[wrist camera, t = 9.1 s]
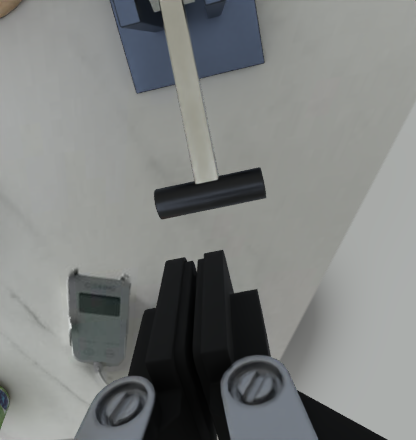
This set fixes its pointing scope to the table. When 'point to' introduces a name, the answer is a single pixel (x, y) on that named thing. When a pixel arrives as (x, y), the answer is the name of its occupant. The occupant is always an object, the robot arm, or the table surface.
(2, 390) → the beverage can
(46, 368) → the table surface
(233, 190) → the t-shaped lever handle
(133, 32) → the black lever switch stand
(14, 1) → the candle holder
